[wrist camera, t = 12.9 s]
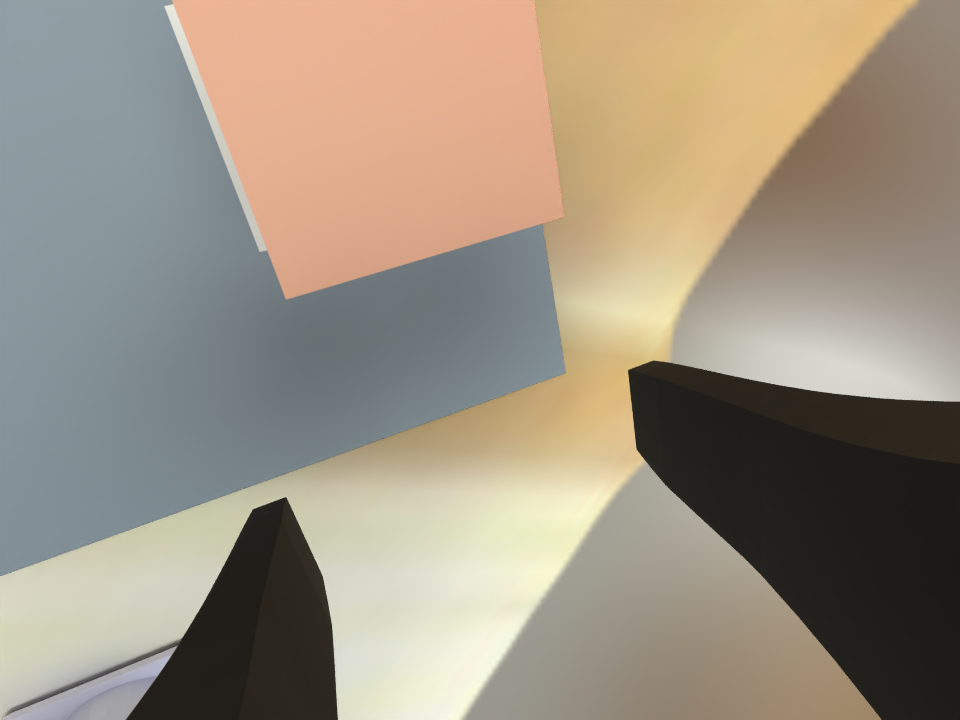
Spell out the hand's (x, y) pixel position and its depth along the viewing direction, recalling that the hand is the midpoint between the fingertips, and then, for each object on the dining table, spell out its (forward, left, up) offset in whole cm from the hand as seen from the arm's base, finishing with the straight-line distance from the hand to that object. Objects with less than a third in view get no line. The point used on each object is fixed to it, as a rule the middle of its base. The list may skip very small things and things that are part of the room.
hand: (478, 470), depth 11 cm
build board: (+3, +5, -10) cm, 12 cm away
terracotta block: (+7, 0, -4) cm, 8 cm away
